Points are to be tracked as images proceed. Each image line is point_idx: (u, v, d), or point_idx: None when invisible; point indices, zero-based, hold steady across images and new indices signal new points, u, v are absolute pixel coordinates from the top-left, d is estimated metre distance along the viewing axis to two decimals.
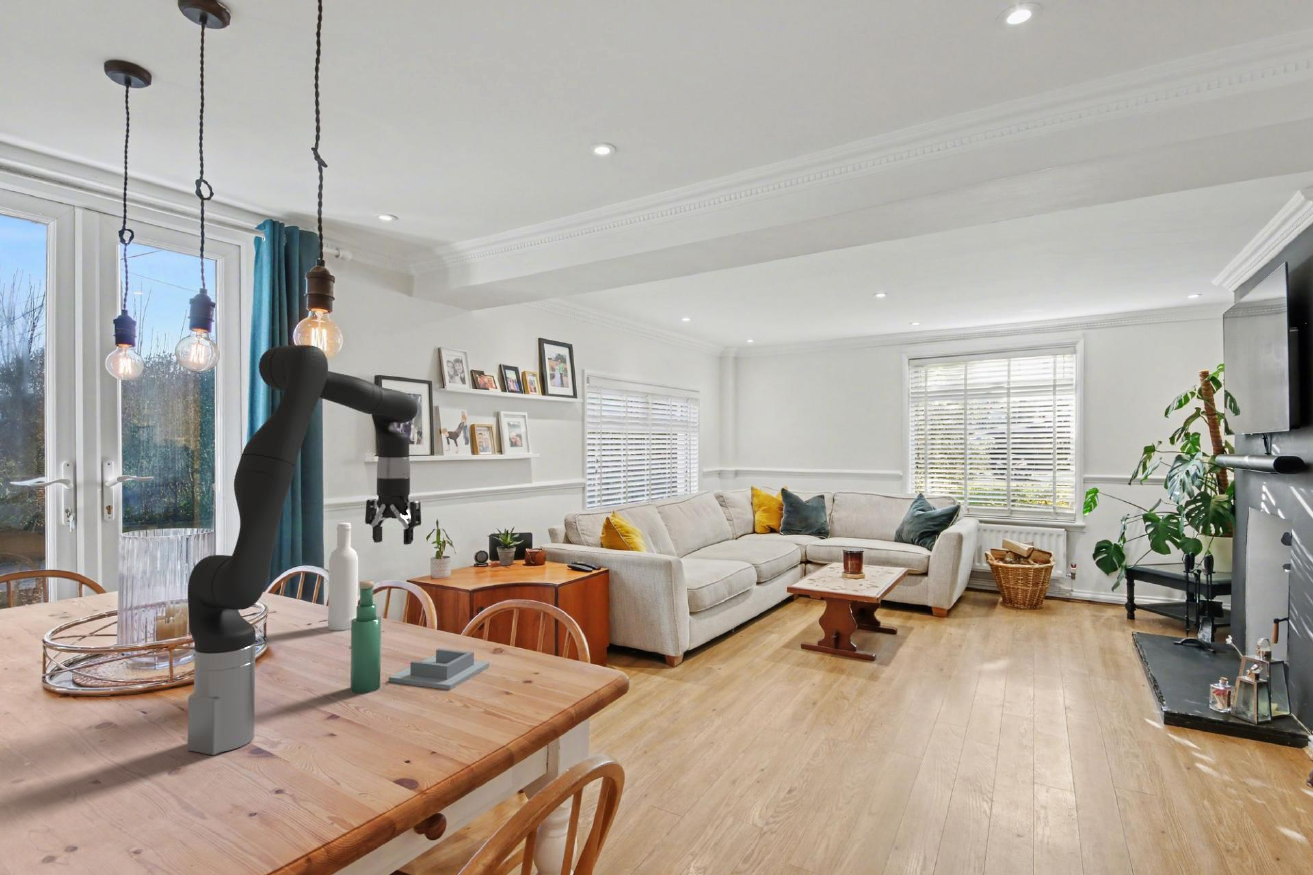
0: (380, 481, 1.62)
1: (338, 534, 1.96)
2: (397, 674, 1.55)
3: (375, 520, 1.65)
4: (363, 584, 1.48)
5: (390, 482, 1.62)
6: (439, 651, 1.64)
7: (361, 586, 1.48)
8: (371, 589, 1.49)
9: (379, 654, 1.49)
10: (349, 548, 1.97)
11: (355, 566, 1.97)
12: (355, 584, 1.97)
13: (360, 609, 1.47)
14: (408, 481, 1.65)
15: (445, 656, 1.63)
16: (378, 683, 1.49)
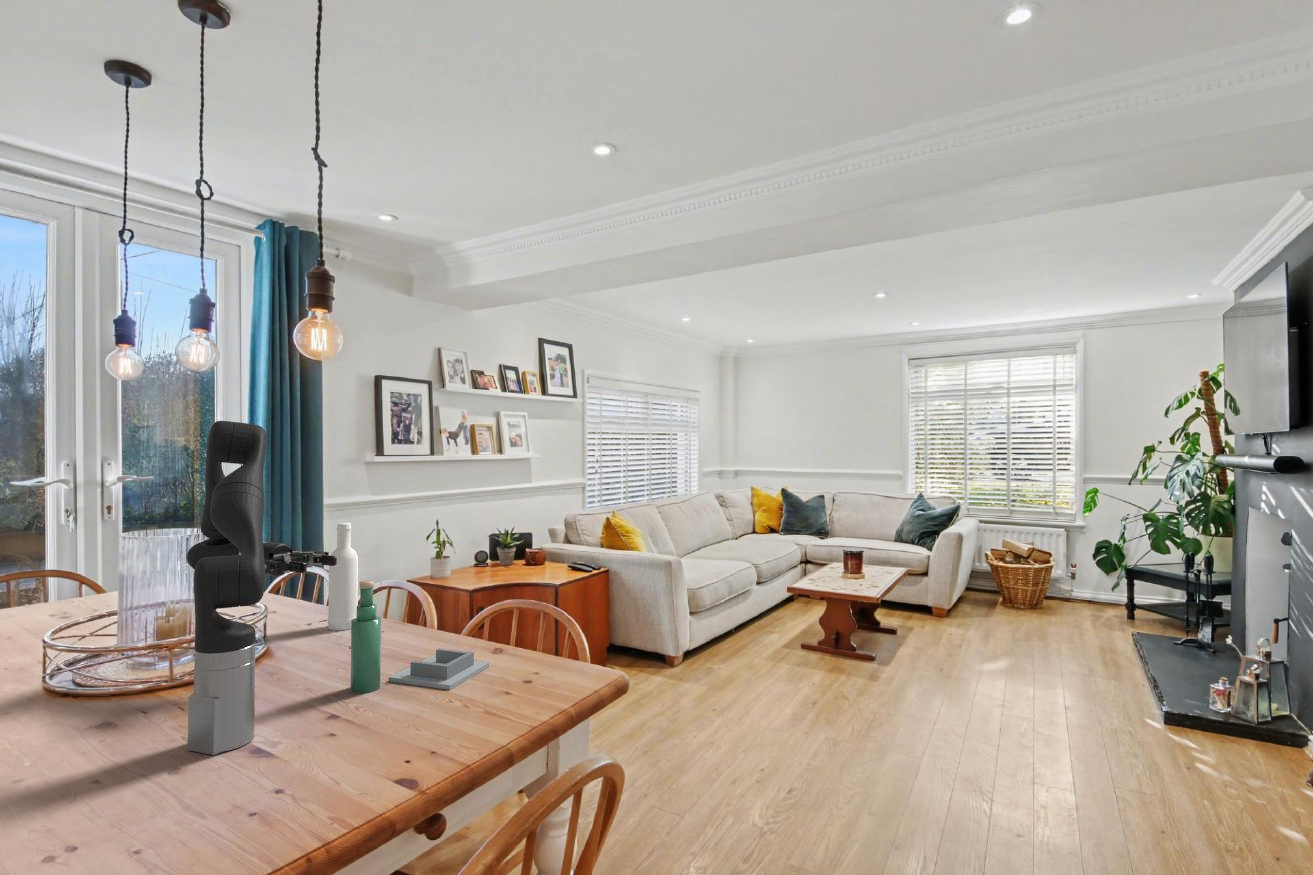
0: (266, 543, 1.57)
1: (338, 534, 1.96)
2: (397, 674, 1.55)
3: (286, 560, 1.51)
4: (363, 584, 1.48)
5: None
6: (439, 651, 1.64)
7: (361, 586, 1.48)
8: (371, 589, 1.49)
9: (379, 654, 1.49)
10: (349, 548, 1.97)
11: (355, 566, 1.97)
12: (355, 584, 1.97)
13: (360, 609, 1.47)
14: None
15: (445, 656, 1.63)
16: (378, 683, 1.49)
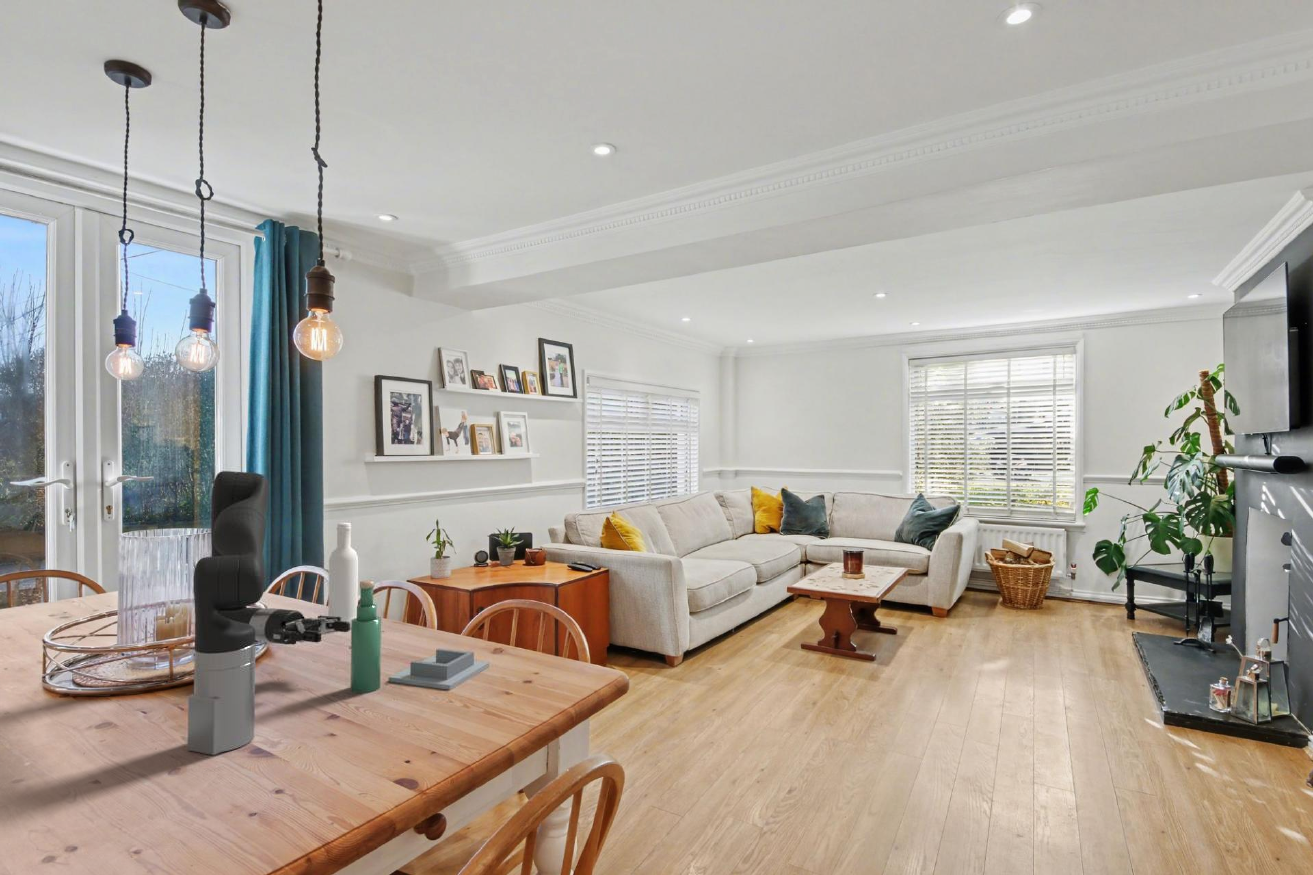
0: (278, 611, 1.55)
1: (338, 534, 1.96)
2: (397, 674, 1.55)
3: (300, 629, 1.49)
4: (363, 584, 1.48)
5: None
6: (439, 651, 1.64)
7: (361, 586, 1.48)
8: (371, 589, 1.49)
9: (379, 654, 1.49)
10: (349, 548, 1.97)
11: (355, 566, 1.97)
12: (355, 584, 1.97)
13: (360, 609, 1.47)
14: None
15: (445, 656, 1.63)
16: (378, 683, 1.49)
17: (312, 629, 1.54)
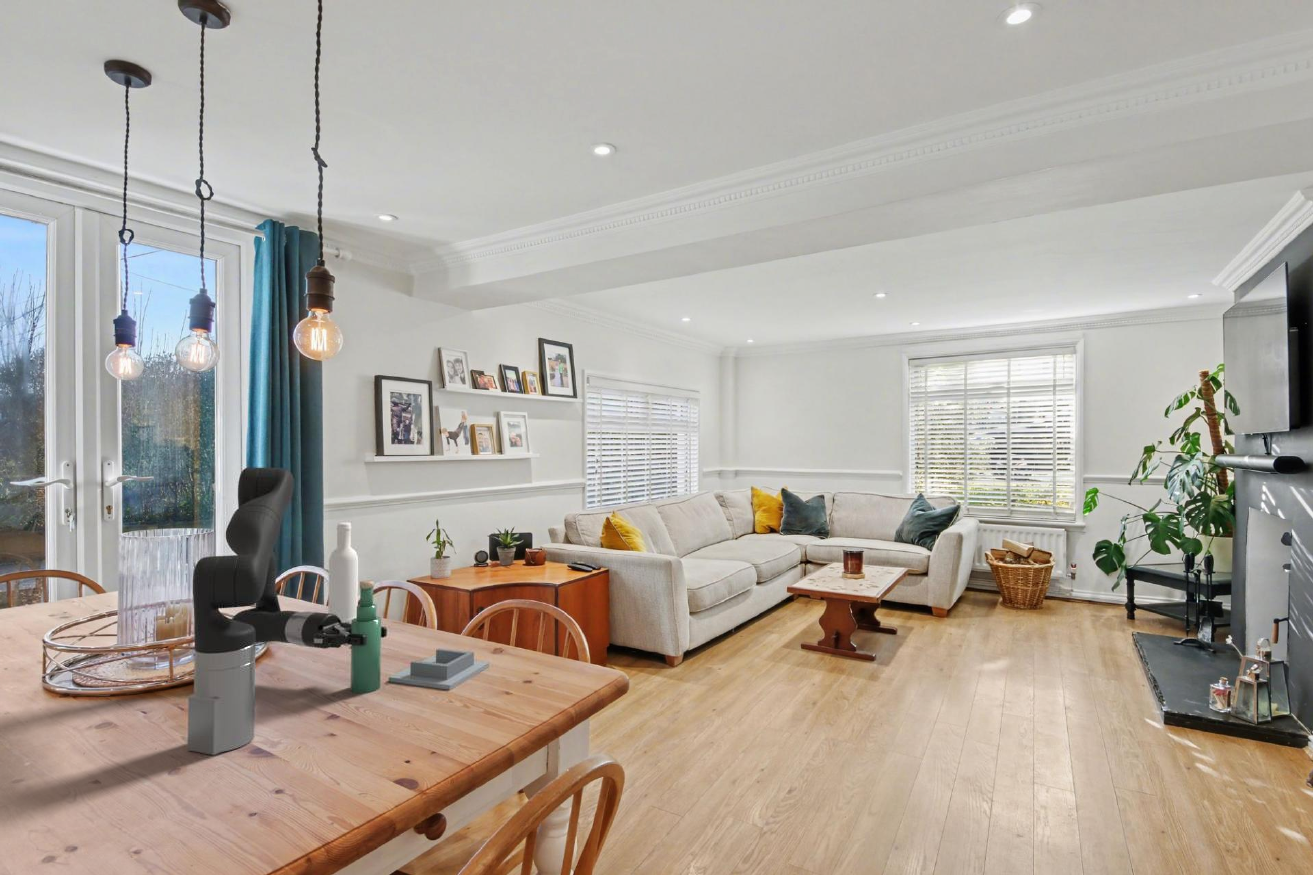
0: (314, 614, 1.52)
1: (338, 534, 1.96)
2: (397, 674, 1.55)
3: (343, 632, 1.47)
4: (363, 584, 1.48)
5: None
6: (439, 651, 1.64)
7: (361, 586, 1.48)
8: (371, 589, 1.49)
9: (379, 654, 1.49)
10: (349, 548, 1.97)
11: (355, 566, 1.97)
12: (355, 584, 1.97)
13: (360, 609, 1.47)
14: None
15: (445, 656, 1.63)
16: (378, 683, 1.49)
17: (350, 633, 1.51)
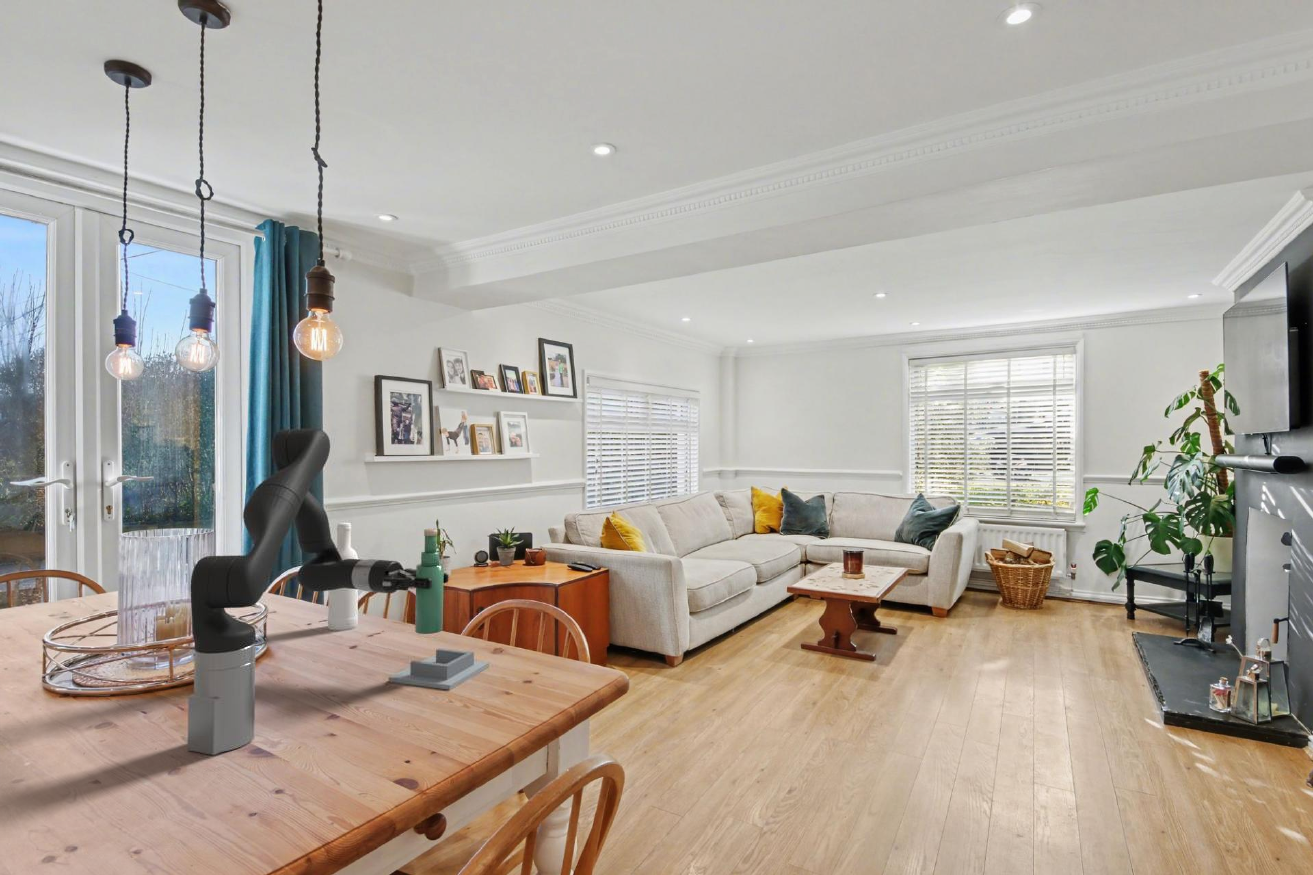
0: (379, 561, 1.61)
1: (338, 534, 1.96)
2: (397, 674, 1.55)
3: (409, 577, 1.55)
4: (428, 531, 1.56)
5: None
6: (439, 651, 1.64)
7: (426, 533, 1.57)
8: (435, 537, 1.58)
9: (442, 598, 1.58)
10: (349, 548, 1.97)
11: None
12: None
13: (425, 555, 1.56)
14: None
15: (445, 656, 1.63)
16: (441, 625, 1.58)
17: None
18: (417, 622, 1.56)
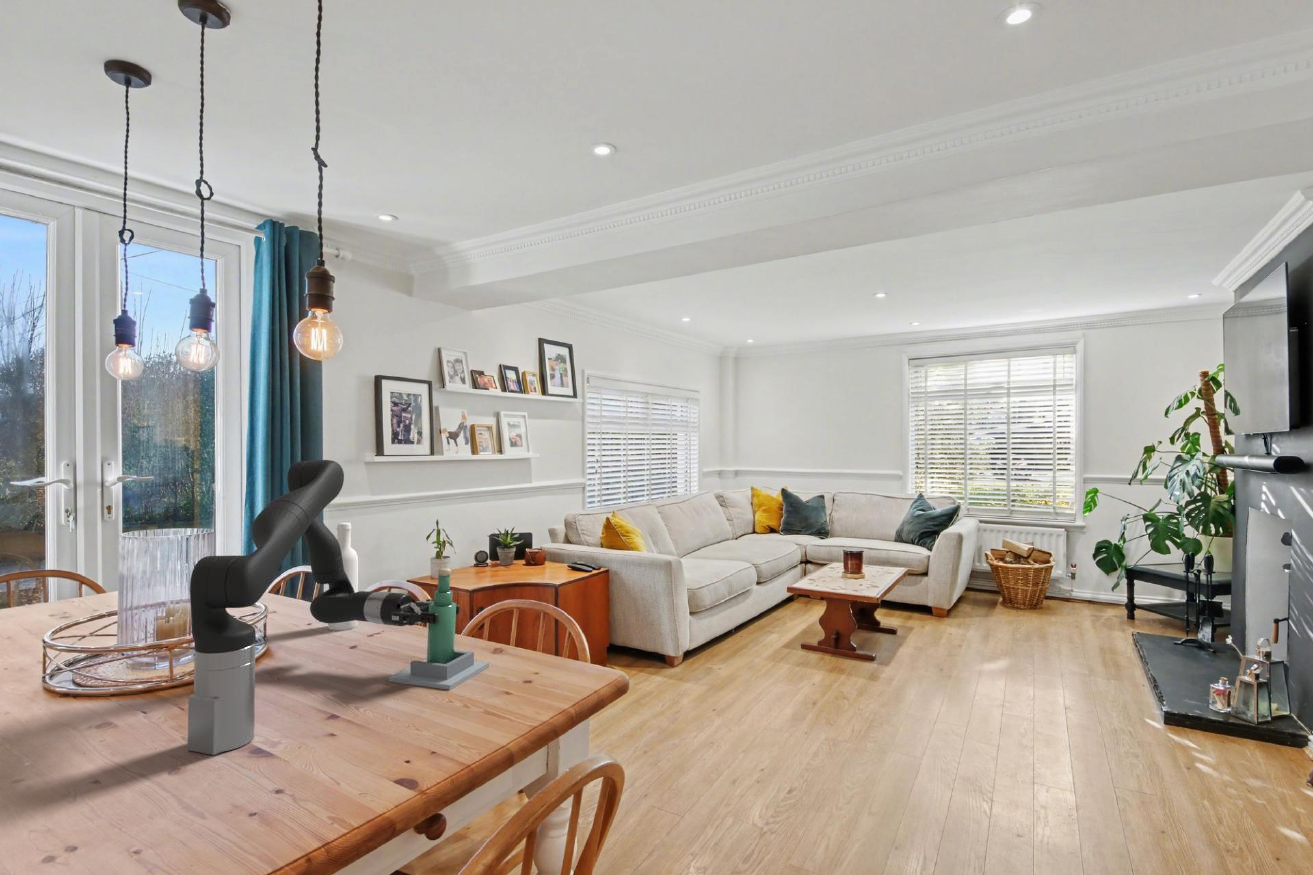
0: (391, 594, 1.62)
1: (338, 534, 1.96)
2: (397, 674, 1.55)
3: (417, 611, 1.56)
4: (442, 571, 1.57)
5: None
6: None
7: (440, 573, 1.57)
8: (448, 576, 1.58)
9: (454, 637, 1.59)
10: (349, 548, 1.97)
11: (355, 566, 1.97)
12: (355, 584, 1.97)
13: (438, 595, 1.57)
14: None
15: None
16: None
17: (425, 611, 1.60)
18: (428, 661, 1.56)
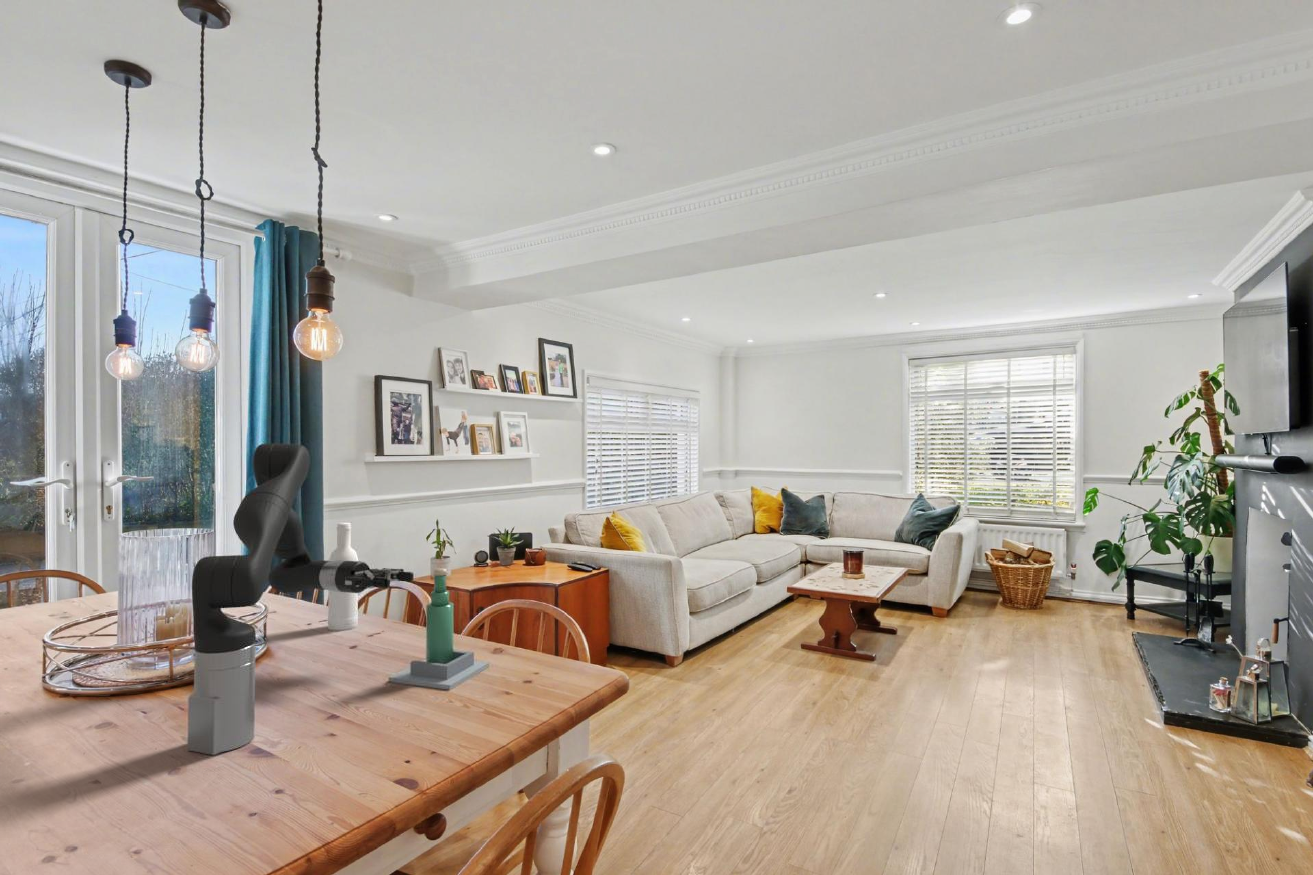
0: (346, 562, 1.66)
1: (338, 534, 1.96)
2: (397, 674, 1.55)
3: (370, 576, 1.59)
4: (437, 571, 1.58)
5: None
6: None
7: (435, 573, 1.58)
8: (444, 576, 1.59)
9: (452, 637, 1.59)
10: (349, 548, 1.97)
11: None
12: None
13: (435, 595, 1.57)
14: None
15: None
16: None
17: None
18: None
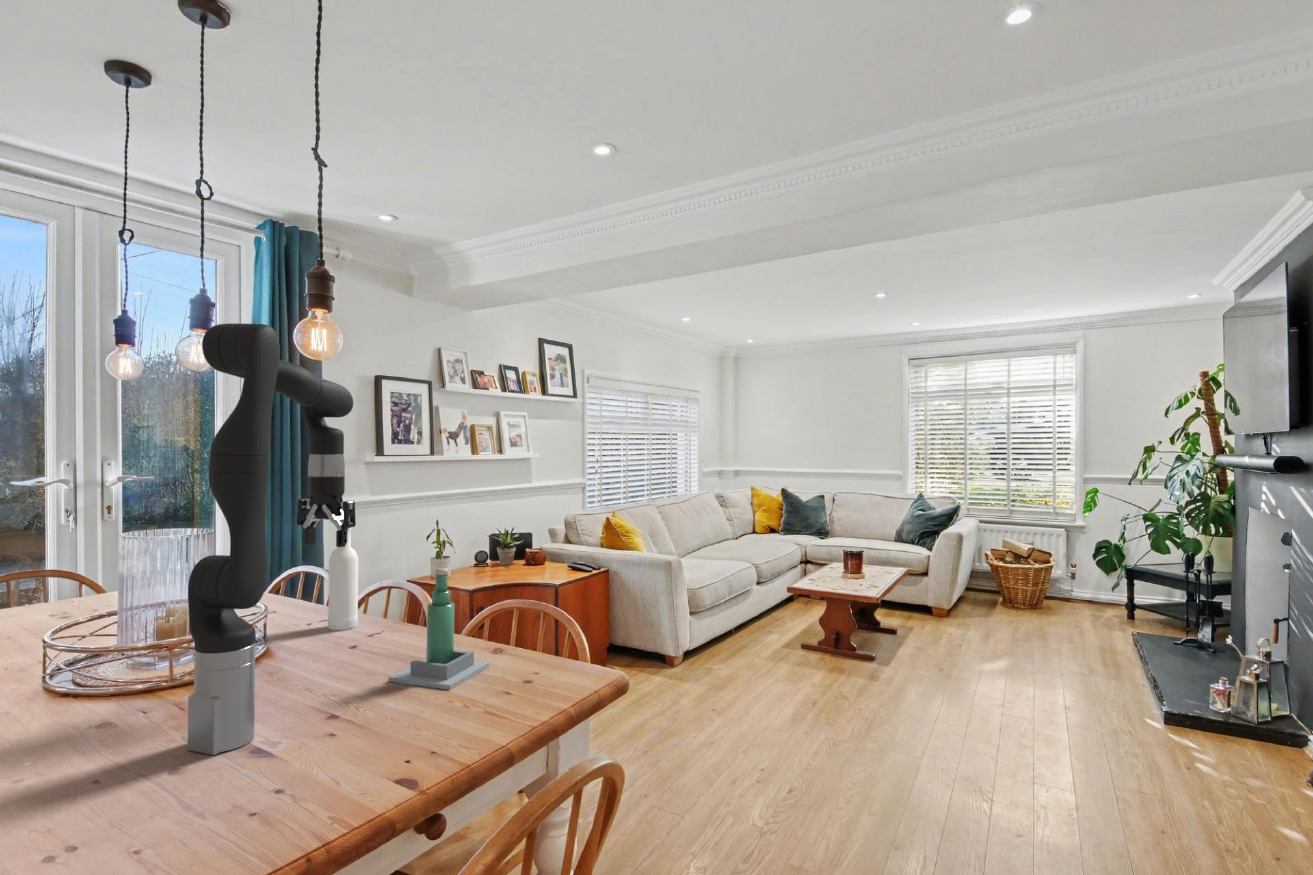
0: (311, 479, 1.52)
1: None
2: (397, 674, 1.55)
3: (306, 521, 1.55)
4: (439, 571, 1.58)
5: (321, 481, 1.52)
6: None
7: (437, 573, 1.58)
8: (446, 576, 1.59)
9: (453, 637, 1.59)
10: (349, 548, 1.97)
11: (355, 566, 1.97)
12: (355, 584, 1.97)
13: (436, 594, 1.57)
14: (342, 479, 1.55)
15: None
16: None
17: None
18: (428, 661, 1.57)
